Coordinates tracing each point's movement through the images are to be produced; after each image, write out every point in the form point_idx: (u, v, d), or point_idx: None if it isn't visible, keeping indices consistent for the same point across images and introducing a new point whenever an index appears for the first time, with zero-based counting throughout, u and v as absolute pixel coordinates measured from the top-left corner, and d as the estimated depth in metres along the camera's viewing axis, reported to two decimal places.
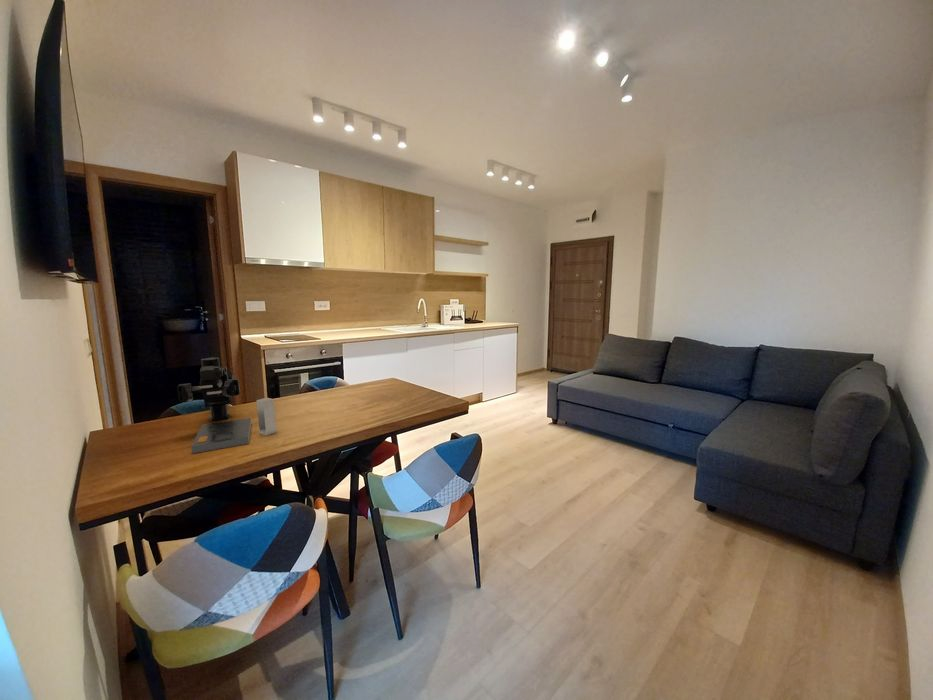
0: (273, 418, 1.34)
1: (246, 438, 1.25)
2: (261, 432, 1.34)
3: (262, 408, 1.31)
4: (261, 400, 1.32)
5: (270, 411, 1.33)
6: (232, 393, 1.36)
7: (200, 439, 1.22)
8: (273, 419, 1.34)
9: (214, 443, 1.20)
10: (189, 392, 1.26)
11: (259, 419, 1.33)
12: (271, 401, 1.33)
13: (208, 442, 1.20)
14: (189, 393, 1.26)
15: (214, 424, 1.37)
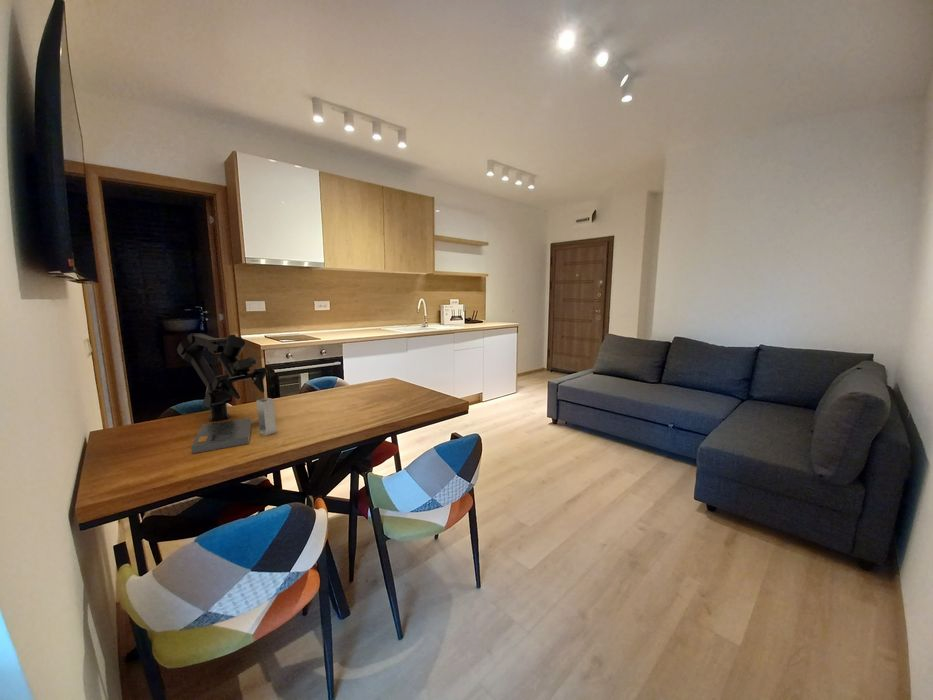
0: (273, 418, 1.34)
1: (246, 438, 1.25)
2: (261, 432, 1.34)
3: (262, 408, 1.31)
4: (261, 400, 1.32)
5: (270, 411, 1.33)
6: None
7: (200, 439, 1.22)
8: (273, 419, 1.34)
9: (214, 443, 1.20)
10: (234, 390, 1.32)
11: (259, 419, 1.33)
12: (271, 401, 1.33)
13: (208, 442, 1.20)
14: (235, 392, 1.32)
15: (214, 424, 1.37)
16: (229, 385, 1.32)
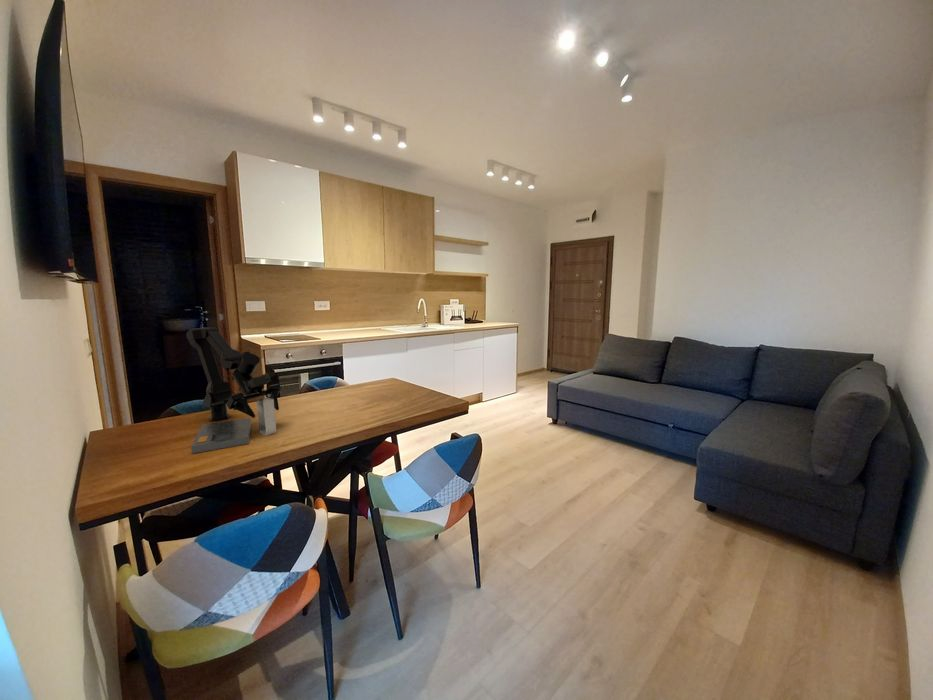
0: (273, 418, 1.34)
1: (246, 438, 1.25)
2: (261, 432, 1.34)
3: (262, 408, 1.31)
4: (261, 400, 1.32)
5: (270, 411, 1.33)
6: None
7: (200, 439, 1.22)
8: (273, 419, 1.34)
9: (214, 443, 1.20)
10: (249, 409, 1.29)
11: (259, 419, 1.33)
12: (271, 401, 1.33)
13: (208, 442, 1.20)
14: (251, 411, 1.29)
15: (214, 424, 1.37)
16: (244, 404, 1.29)
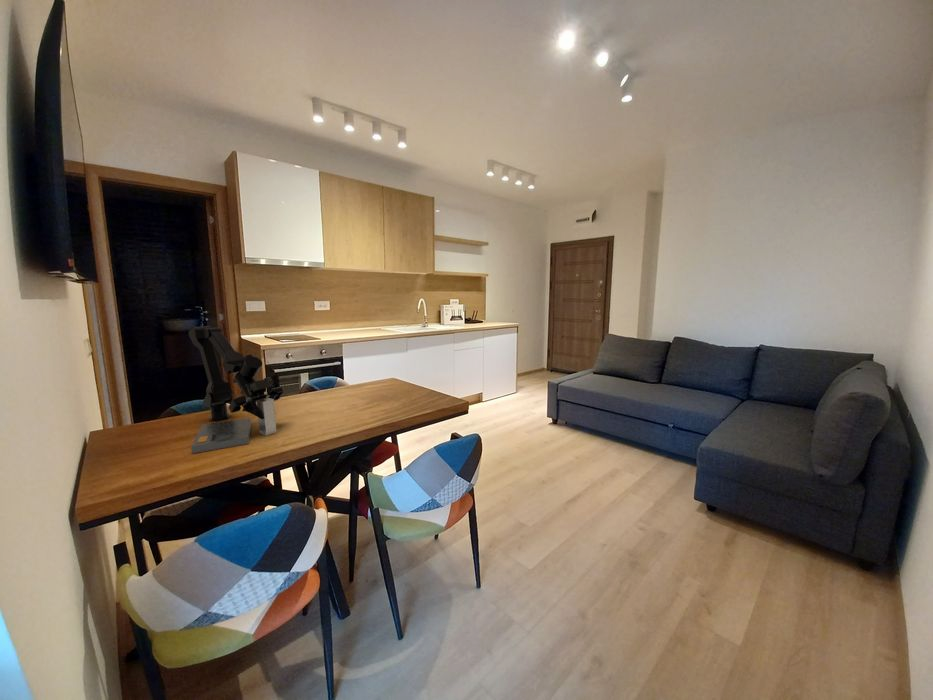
0: (273, 418, 1.34)
1: (246, 438, 1.25)
2: (261, 432, 1.34)
3: (262, 408, 1.31)
4: (261, 400, 1.32)
5: (270, 411, 1.33)
6: None
7: (200, 439, 1.22)
8: (273, 419, 1.34)
9: (214, 443, 1.20)
10: (258, 410, 1.31)
11: (259, 419, 1.33)
12: (271, 401, 1.33)
13: (208, 442, 1.20)
14: (259, 412, 1.31)
15: (214, 424, 1.37)
16: (253, 405, 1.31)
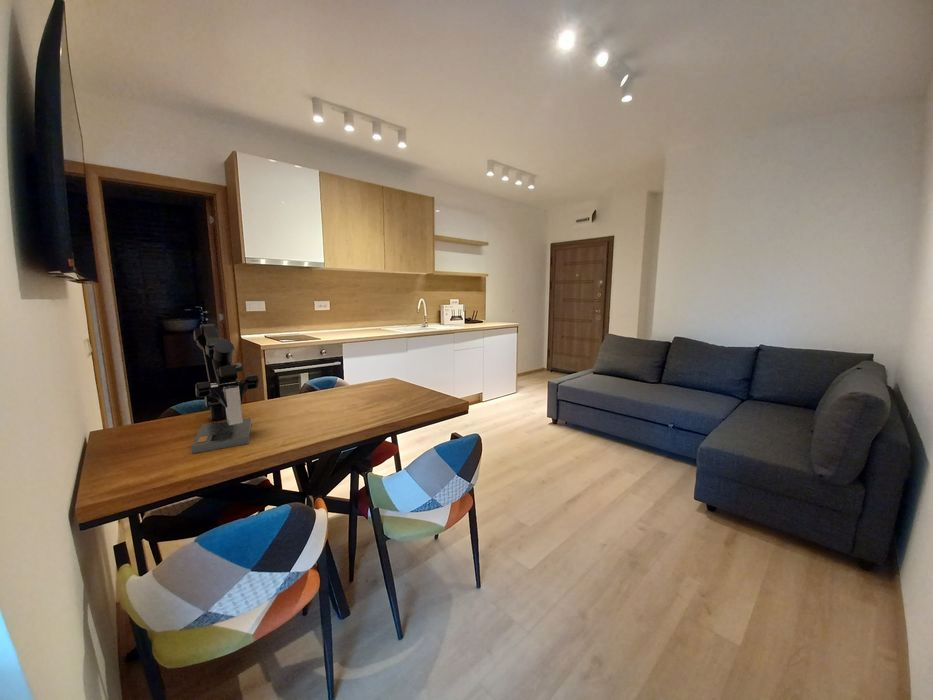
0: (238, 407, 1.25)
1: (246, 438, 1.25)
2: (227, 421, 1.26)
3: (225, 396, 1.23)
4: (226, 387, 1.24)
5: (235, 400, 1.24)
6: (244, 390, 1.32)
7: (200, 439, 1.22)
8: (238, 408, 1.26)
9: (214, 443, 1.20)
10: (222, 398, 1.24)
11: None
12: (236, 389, 1.24)
13: (208, 442, 1.20)
14: (223, 400, 1.23)
15: (214, 424, 1.37)
16: (218, 392, 1.23)
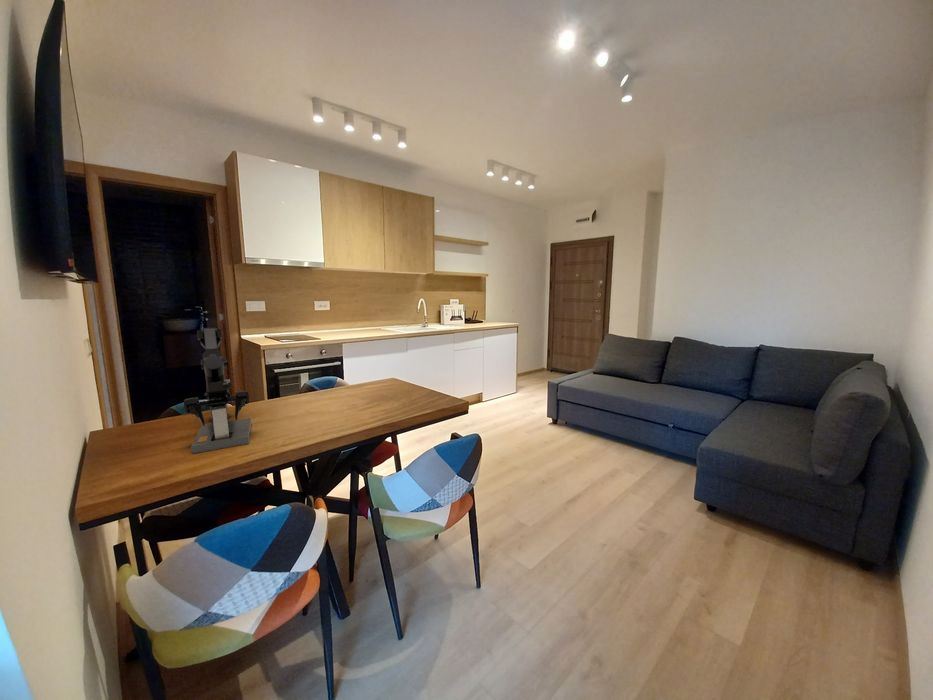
0: (225, 429, 1.24)
1: (246, 438, 1.25)
2: None
3: None
4: (214, 408, 1.23)
5: (221, 421, 1.23)
6: (242, 405, 1.32)
7: (200, 439, 1.22)
8: (225, 430, 1.24)
9: (214, 443, 1.20)
10: (200, 416, 1.21)
11: None
12: (223, 410, 1.23)
13: (208, 442, 1.20)
14: (201, 418, 1.21)
15: None
16: (196, 410, 1.21)
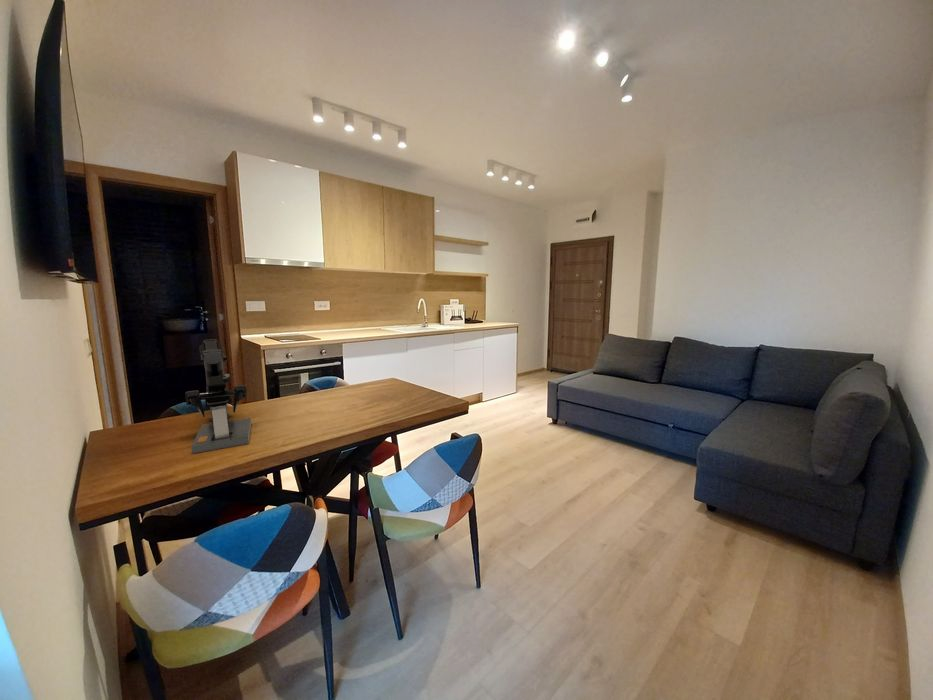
0: (225, 429, 1.24)
1: (246, 438, 1.25)
2: None
3: None
4: (214, 408, 1.23)
5: (221, 421, 1.23)
6: (240, 398, 1.39)
7: (200, 439, 1.22)
8: (225, 430, 1.24)
9: (214, 443, 1.20)
10: (201, 408, 1.29)
11: None
12: (223, 410, 1.23)
13: (208, 442, 1.20)
14: (201, 410, 1.28)
15: None
16: (197, 402, 1.29)
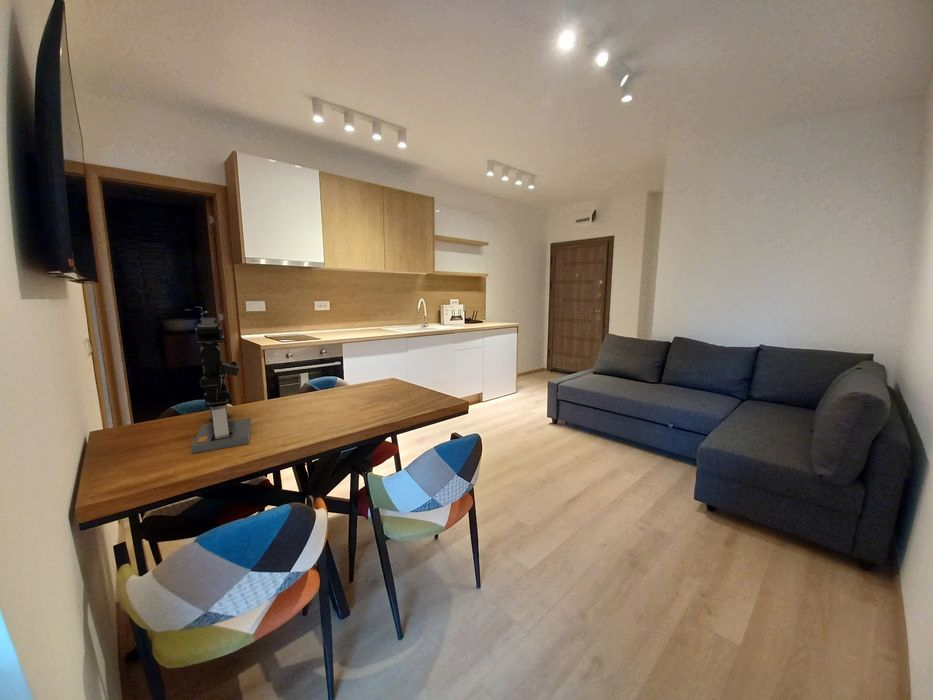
0: (225, 429, 1.24)
1: (246, 438, 1.25)
2: None
3: None
4: (214, 408, 1.23)
5: (221, 421, 1.23)
6: None
7: (200, 439, 1.22)
8: (225, 430, 1.24)
9: (214, 443, 1.20)
10: (217, 393, 1.30)
11: None
12: (223, 410, 1.23)
13: (208, 442, 1.20)
14: (217, 396, 1.30)
15: None
16: (218, 388, 1.29)
